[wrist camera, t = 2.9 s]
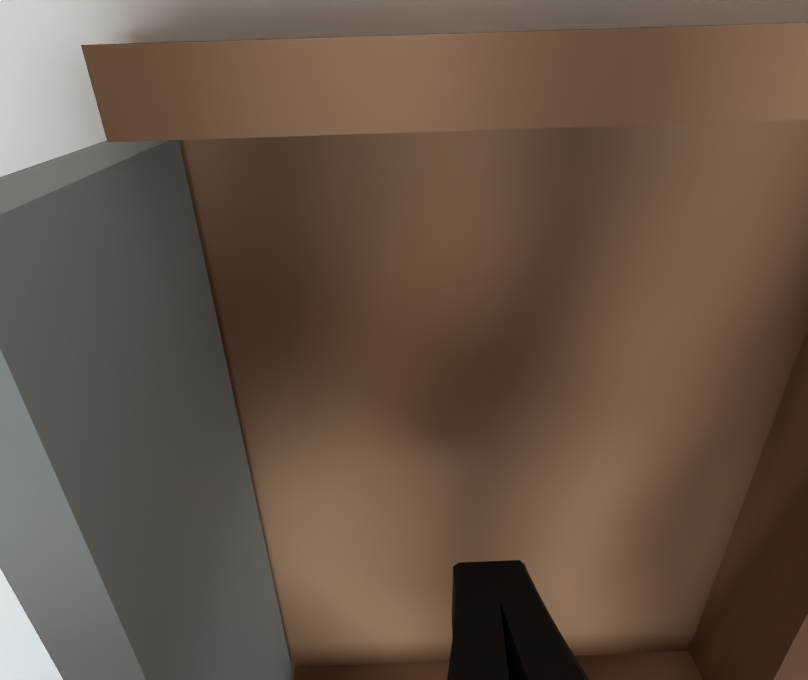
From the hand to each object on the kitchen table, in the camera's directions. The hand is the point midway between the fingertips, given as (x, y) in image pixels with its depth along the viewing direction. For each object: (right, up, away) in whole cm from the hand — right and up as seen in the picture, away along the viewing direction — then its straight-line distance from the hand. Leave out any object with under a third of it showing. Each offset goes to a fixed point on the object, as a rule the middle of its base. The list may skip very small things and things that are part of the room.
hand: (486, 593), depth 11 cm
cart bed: (+1, +3, +5) cm, 6 cm away
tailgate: (-7, +2, +3) cm, 8 cm away
